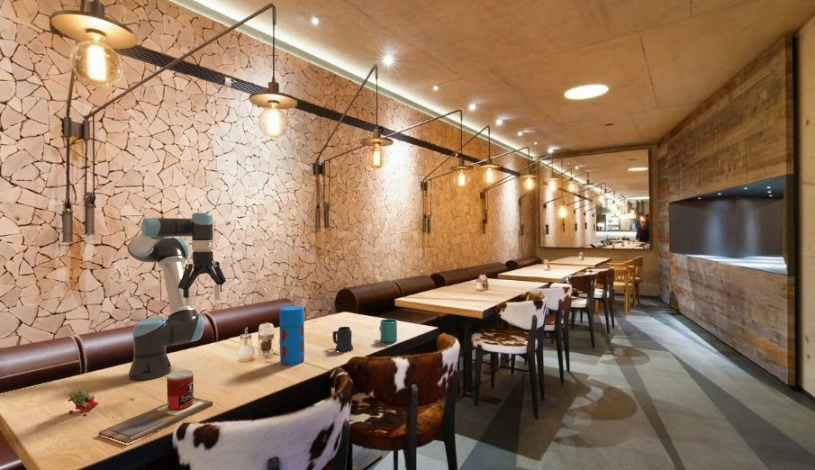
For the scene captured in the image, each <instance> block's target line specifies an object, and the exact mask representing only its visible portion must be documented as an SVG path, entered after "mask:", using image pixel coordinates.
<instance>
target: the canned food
mask: <svg viewBox="0 0 815 470" xmlns="http://www.w3.org/2000/svg"><path fill="white" fill-rule="evenodd" d="M166 396H167V397H166V399H167V402H166V403H167V406H168V409H169V410H172V411H178V410H183V409H186V408H189V407H190V406H192V404H193V401H194V371H193V370H191V369H190V370H189V369H183V370H182V369H181V370H176V371H173V372H172V371H171V372H169V373H168V374H166Z"/></svg>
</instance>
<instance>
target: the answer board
mask: <svg viewBox="0 0 815 470" xmlns="http://www.w3.org/2000/svg"><path fill="white" fill-rule="evenodd" d="M212 406H214V401H210V400H207V399H202V398H198V397H194V401H193V404H192V406H190V407H189V408H186V409H183V410H178V411H172V410H169V409H168V406H167V402H166V403H164V404H162V405H159V406H157V407H154V408H152V409H149V410H148V411H145V412H143V413H140V414H139V415H136V416H134V417H130V418H128V419H126V420H124V421H121V422H119V423H117V424H114V425H112V426H109V427H107V428H105V429H103V430H100V431H98V436H99V435H101V436H105V437H108V438H112V439H115V440H118V441H121V442H124V443H130V442H132V441H134V440H137V439H139V438H142V437H144V436H147V435H149V434H151V433H154V432H156V431H158V430H160V431H162V430H161V429H163V428H165V429H166V427H167V428H168V426H169V427H171V426H173V425H175V424H177V423H179V422H181V421H183V420H185V419H187V418H186V417H188V416H190V417H191V415H192V416H194V415H195V414H196V415H197V414H198V413H200V412H202V411H204V410H207V409H208V408H210V407H212ZM193 414H194V415H193ZM184 418H185V419H184ZM188 418H189V417H188ZM182 419H183V420H182ZM180 420H181V421H180ZM178 421H179V422H178ZM176 422H177V423H176ZM174 423H175V424H174ZM172 424H173V425H172ZM170 425H171V426H170ZM163 430H164V429H163ZM158 432H159V431H158ZM156 433H157V432H156ZM154 434H155V433H154Z"/></svg>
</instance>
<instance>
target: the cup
mask: <svg viewBox="0 0 815 470" xmlns="http://www.w3.org/2000/svg"><path fill="white" fill-rule="evenodd" d="M379 321H380V325H379V332H380V342H381V341H382V342H381V343H384V342H387V343H386V344H391V342H393V343H396V342H397V340H398V320H397V319H394V318H385V319H381V320H379ZM395 341H396V342H395Z"/></svg>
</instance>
